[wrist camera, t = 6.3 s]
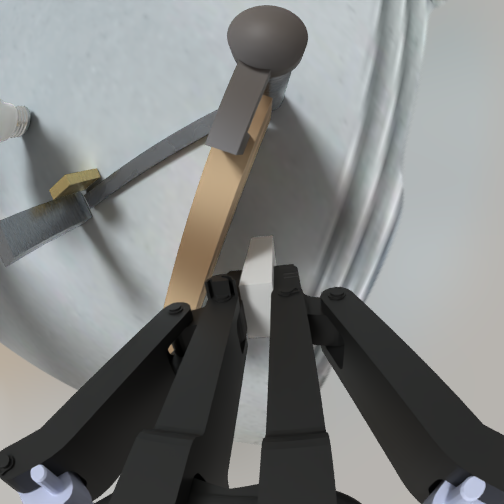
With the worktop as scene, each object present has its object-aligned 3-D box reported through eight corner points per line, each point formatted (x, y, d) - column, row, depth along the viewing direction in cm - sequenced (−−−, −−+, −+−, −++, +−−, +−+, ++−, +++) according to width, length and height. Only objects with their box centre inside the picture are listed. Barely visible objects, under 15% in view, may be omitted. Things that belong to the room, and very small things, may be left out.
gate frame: (80, 225, 20) (5, 267, 11) (66, 194, 19) (-13, 224, 10) (289, 106, 16) (309, 67, 8) (269, 69, 15) (269, 5, 7)
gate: (208, 305, 21) (173, 404, 12) (178, 294, 20) (128, 385, 11) (292, 85, 15) (318, 19, 6) (256, 72, 15) (244, -2, 6)
